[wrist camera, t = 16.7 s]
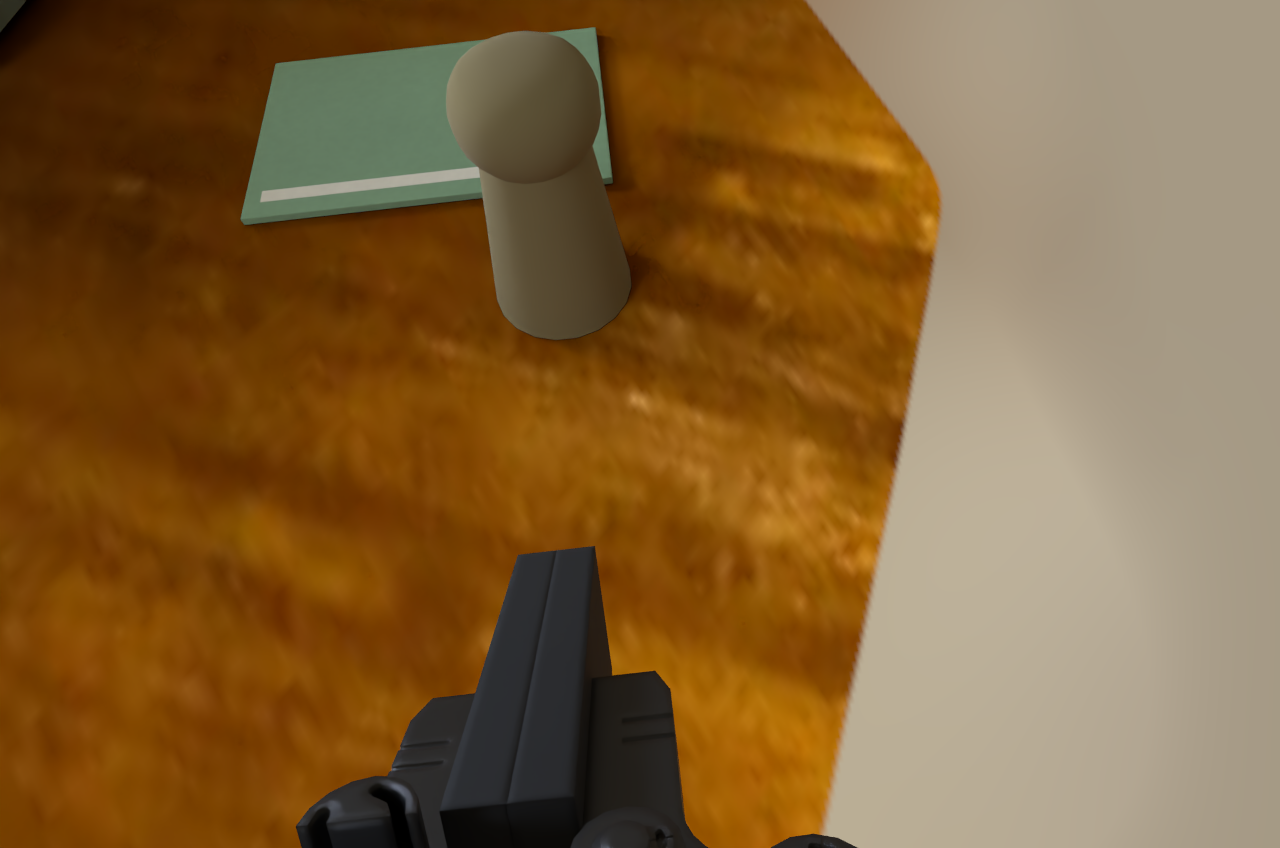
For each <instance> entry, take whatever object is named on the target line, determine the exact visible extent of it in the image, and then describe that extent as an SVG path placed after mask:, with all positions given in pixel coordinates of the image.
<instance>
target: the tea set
mask: <svg viewBox="0 0 1280 848" xmlns="http://www.w3.org/2000/svg"><path fill="white" fill-rule="evenodd" d="M25 2H26V0H0V32H1V31H2V29H3V28H4V27H5V26H6V25H7V23H8V22H9V21H10V20H11V19H12V17H13V16H14V15H15V14H16V13H17V11H18V10H19V9H20V8H21V6H22V5H23V4H24V3H25Z"/></svg>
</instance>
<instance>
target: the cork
mask: <svg viewBox="0 0 1280 848" xmlns="http://www.w3.org/2000/svg"><path fill="white" fill-rule="evenodd" d="M446 110H447V118H448V121H449V124H450V127H451V130H452V132H453V134H454V136H455V139H456V141H457V143H458V145H459V147H460V148H461V149H462V151H463V152H464V154H465V155H466V157H467V158H468V159H469V160H470V161H472V162H473V163H474V164H475V165H476V166H477V167H478V168H479V174H480V181H481V188H482V195H483V203H484V210H485V217H486V224H487V231H488V238H489V245H490V252H491V259H492V266H493V273H494V281H495V288H496V295H497V301H498V303H499V305H500V308H501V310H502V312H503V315H504V316H505V317H506V318H507V319H508V320H509V321H510V322H511V323H512V324H513V325H514V326H515V327H516V328H517V329H519V330H521V331H524V332H526V333H528V334H530V335H532V336H534V337H540V338H546V339H553V340H560V339H570V338H578V337H581V336H583V335H586V334H589V333H591V332H594V331H597V330H599V329H600V328H602V327H603V326H604V325H606V324H607V323H608V322H610V321H611V320H613V319H614V318H615V317H616V316H617V315H618V313H619V312H620V311H621V309H622V308H623V306H624V305H625V304H626V302H627V299H628V296H629V292H630V289H631V277H630V269H629V265H628V262H627V259H626V255H625V252H624V249H623V246H622V242H621V239H620V236H619V232H618V229H617V226H616V222H615V219H614V216H613V212H612V209H611V206H610V202H609V199H608V196H607V192H606V189H605V186H604V182H603V179H602V176H601V173H600V169H599V166H598V163H597V159H596V156H595V153H594V149H593V146H592V145H593V144H594V141H595V138H596V135H597V133H598V130H599V125H600V120H601V105H600V95H599V85H598V81H597V79H596V76H595V74H594V71H593V69H592V68H591V66H590V65H589V63H588V62H587V60H586V58H585V57H584V56H583V55H582V54H581V53H580V51H579V50H578V49H577V48H576V47H575V46H573V45H572V44H570V43H569V42H568V41H566V40H565V39H563V38H561V37H558V36H555V35H552V34H548V33H544V32H532V31H518V32H509V33H504V34H501V35H498V36H495V37H491V38H489V39H487V40H485V41H483V42H481V43H479V44H478V45H476V46H474V47H472V48H470V49H469V50H468V51H467V52H466V53H465V54H464V55H463V56H462V57H461V58H460V59H459V60H458V61H457V63H456V65H455V67H454V69H453V71H452V73H451V75H450V78H449V81H448V84H447V94H446Z"/></svg>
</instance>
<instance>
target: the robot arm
mask: <svg viewBox="0 0 1280 848" xmlns="http://www.w3.org/2000/svg"><path fill="white" fill-rule="evenodd" d="M400 747H401V749H400V750H399V751H398V753H397V755H396V757H395V760H394V762H393V764H392V771H390V772H389V774H388V776H387V777H386V776H374V777H370V778H365V779H361V780H357V781H353V782H351V783H349V784H346V785H344V786H342V787H340V788H338V789H336V790H334V791H332V792H330V793H329V794H327V795H326V796H325V797H323V798H322V799H321V800H320V801H318V802H317V803H316V804H314V805H313V806H312V807H311V808H309V810H308V811H307V812H306V814H305V815H304V816H303V818H302V819H301V820H300V822H299V823H298V824H297V826H296V829H297V832H298V836H299V839H300V843H301V846H302V848H708V847H706V846H705V845H704V844H703V843H702V842H700V841H699V840H698V839H697V838H696V837H695V836H694V835H693V834H692V832H691V830H690V829H689V827H688V826H687V824H686V821H685V815H684V805H683V796H682V786H681V777H680V767H679V759H678V751H677V742H676V734H675V725H674V717H673V708H672V700H671V691H670V688H669V687H668V686H667V685H666V684H665V682H664V681H663V680H662V679H661V677H660V676H659V675H658V674H657V673H656V671H649V672H641V673H632V674H623V675H614V676H612V666H611V659H610V652H609V645H608V638H607V631H606V623H605V616H604V609H603V602H602V595H601V588H600V581H599V574H598V566H597V559H596V552H595V546H592V547H583V548H575V549H566V550H557V551H548V552H540V553H531V554H522V555H518V557H517V560H516V563H515V566H514V570H513V573H512V576H511V579H510V583H509V586H508V589H507V592H506V596H505V599H504V602H503V605H502V609H501V612H500V615H499V618H498V622H497V625H496V628H495V631H494V635H493V638H492V641H491V644H490V648H489V651H488V654H487V657H486V661H485V664H484V667H483V670H482V674H481V677H480V680H479V683H478V686H477V690H476V693H475V694H466V695H457V696H449V697H440V698H433V699H432V700H431V701H430V702H429V703H428V704H427V705H426V706H425V707H424V708H423V709H422V710H421V711H420V712H419V713H418V714H417V715H416V716H415V717H414V718H413V719H412V720H411V722H410V724H409V726H408V729H407V731H406V733H405V736H404V738H403V741H402V743H401V745H400ZM771 848H857V847H855V846H853V845H851V844H849V843H847V842H845V841H843V840H841V839H839V838H835V837H829V836H823V835H817V834H809V835H802V836H795V837H790V838H788V839H786V840H784V841H782V842H780V843H778V844H777V845H775V846H773V847H771Z"/></svg>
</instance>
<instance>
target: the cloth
mask: <svg viewBox="0 0 1280 848" xmlns="http://www.w3.org/2000/svg"><path fill="white" fill-rule="evenodd" d="M548 34H552V35H555V36H558V37H561V38H563V39H565V40H566V41H568V42H569V43H570V44H572V45H573V46H575V47H576V48H577V49H578V50H579V51H580V53H581V54H582V55H583V56H584V57H585V58H586V60H587V62H588V63H589V65H590V66H591V68H592V69H593V71H594V74H595V76H596V79H597V81H598V85H599V95H600V105H601V120H600V125H599V130H598V133H597V135H596V138H595V141H594V144H593V145H592V146H593V149H594V153H595V156H596V159H597V163H598V166H599V169H600V173H601V176H602V179H603V182H604V184H611V183H613V178H612V169H611V160H610V151H609V142H608V133H607V124H606V115H605V106H604V97H603V89H602V80H601V71H600V62H599V53H598V44H597V35H596V28H595V27H594V28H585V29H576V30H567V31H558V32H549V33H548ZM483 41H485V40H479V41H470V42H461V43H452V44H443V45H435V46H426V47H417V48H408V49H399V50H390V51H381V52H373V53H364V54H355V55H346V56H337V57H328V58H320V59H311V60H302V61H293V62H284V63H276V65H275V69H274V74H273V78H272V83H271V87H270V91H269V96H268V100H267V105H266V109H265V113H264V118H263V122H262V127H261V131H260V135H259V140H258V144H257V148H256V153H255V157H254V162H253V166H252V170H251V175H250V179H249V184H248V188H247V192H246V197H245V201H244V206H243V210H242V214H241V221H242V222H243V224H244V225H248V224H257V223H266V222H275V221H284V220H293V219H302V218H310V217H319V216H328V215H337V214H346V213H355V212H364V211H372V210H381V209H390V208H399V207H408V206H417V205H425V204H434V203H443V202H452V201H461V200H470V199H479V198H483V195H482V188H481V181H480V174H479V168H478V167H477V166H476V165H475V164H474V163H473V162H472V161H470V160H469V159H468V158H467V157H466V155H465V154H464V152H463V151H462V149H461V148H460V147H459V145H458V143H457V141H456V139H455V136H454V134H453V132H452V130H451V127H450V124H449V121H448V118H447V110H446V94H447V84H448V81H449V78H450V75H451V73H452V71H453V69H454V67H455V65H456V63H457V61H458V60H459V59H460V58H461V57H462V56H463V55H464V54H465V53H466V52H467V51H468V50H469V49H470V48H472V47H474V46H476V45H478V44H479V43H481V42H483Z"/></svg>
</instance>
